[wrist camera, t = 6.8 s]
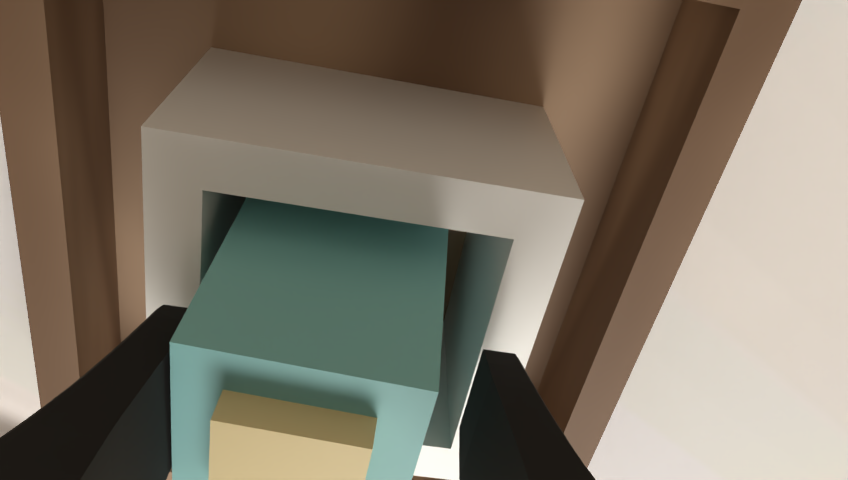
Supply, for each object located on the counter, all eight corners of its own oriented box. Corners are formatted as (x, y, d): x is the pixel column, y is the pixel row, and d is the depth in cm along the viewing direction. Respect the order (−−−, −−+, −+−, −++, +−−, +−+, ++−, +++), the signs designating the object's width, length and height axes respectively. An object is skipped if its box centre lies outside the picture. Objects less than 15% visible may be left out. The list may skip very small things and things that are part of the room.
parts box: (747, -65, 14) (820, -40, 12) (538, 457, 22) (554, 539, 20) (45, -215, 13) (-47, -223, 10) (95, 402, 21) (51, 483, 18)
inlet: (543, 106, 16) (584, 200, 12) (471, 353, 20) (484, 483, 16) (210, 47, 15) (140, 126, 11) (203, 316, 19) (149, 443, 15)
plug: (452, 166, 16) (436, 423, 10) (419, 296, 18) (389, 572, 12) (281, 131, 16) (153, 371, 10) (269, 267, 18) (159, 534, 12)
